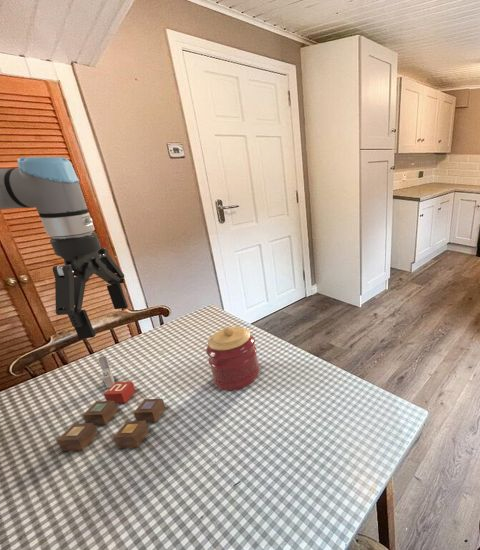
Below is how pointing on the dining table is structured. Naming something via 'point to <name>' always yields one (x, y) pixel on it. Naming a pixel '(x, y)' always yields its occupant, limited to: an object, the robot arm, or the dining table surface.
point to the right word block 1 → (131, 434)
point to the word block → (77, 437)
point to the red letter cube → (120, 392)
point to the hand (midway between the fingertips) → (106, 321)
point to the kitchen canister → (233, 358)
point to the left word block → (100, 412)
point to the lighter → (106, 371)
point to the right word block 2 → (149, 410)
